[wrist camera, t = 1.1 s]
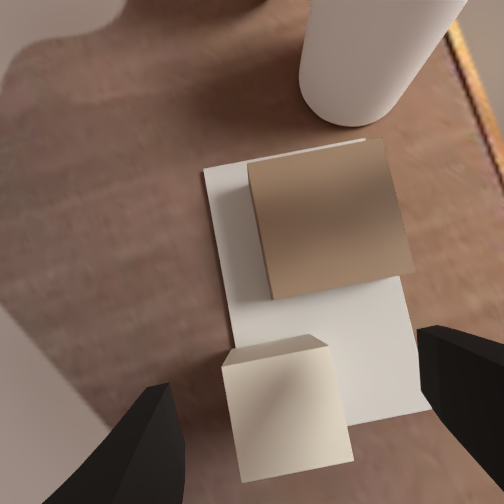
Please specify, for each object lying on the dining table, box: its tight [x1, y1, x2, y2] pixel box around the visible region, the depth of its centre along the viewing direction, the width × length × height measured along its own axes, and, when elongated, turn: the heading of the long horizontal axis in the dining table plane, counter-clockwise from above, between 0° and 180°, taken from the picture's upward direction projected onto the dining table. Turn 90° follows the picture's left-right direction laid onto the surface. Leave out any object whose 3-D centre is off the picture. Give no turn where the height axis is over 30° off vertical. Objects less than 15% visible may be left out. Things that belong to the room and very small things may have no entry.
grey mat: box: [203, 138, 432, 426], centre depth 22 cm, size 16×10×1 cm, turn 11°
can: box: [299, 0, 468, 127], centre depth 18 cm, size 6×6×12 cm
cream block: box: [221, 334, 354, 483], centre depth 18 cm, size 4×4×6 cm
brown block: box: [247, 138, 416, 300], centre depth 20 cm, size 7×7×4 cm
